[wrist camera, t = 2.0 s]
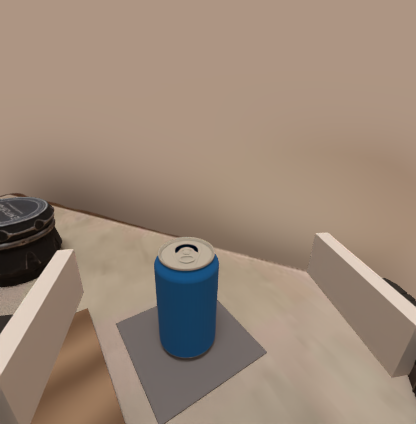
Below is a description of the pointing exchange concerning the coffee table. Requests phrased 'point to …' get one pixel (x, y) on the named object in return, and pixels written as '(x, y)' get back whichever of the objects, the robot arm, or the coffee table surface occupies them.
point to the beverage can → (186, 295)
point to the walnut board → (79, 381)
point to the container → (26, 239)
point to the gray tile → (185, 361)
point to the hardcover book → (413, 376)
